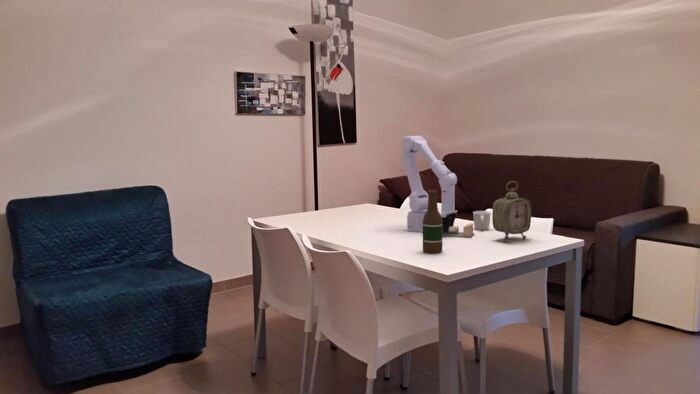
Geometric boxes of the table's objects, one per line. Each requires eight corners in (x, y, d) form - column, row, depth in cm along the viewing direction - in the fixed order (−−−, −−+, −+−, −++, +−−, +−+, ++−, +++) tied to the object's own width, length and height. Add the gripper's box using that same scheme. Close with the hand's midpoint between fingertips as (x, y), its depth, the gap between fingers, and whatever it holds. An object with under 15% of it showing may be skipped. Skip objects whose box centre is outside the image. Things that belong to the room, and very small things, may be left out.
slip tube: (432, 232, 245) (432, 225, 245) (434, 231, 248) (434, 224, 248) (456, 234, 241) (456, 227, 240) (458, 233, 244) (458, 225, 243)
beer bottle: (420, 249, 216) (420, 189, 213) (439, 249, 216) (440, 188, 213) (424, 254, 208) (424, 191, 205) (444, 253, 209) (445, 191, 206)
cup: (491, 232, 247) (491, 214, 246) (473, 231, 249) (473, 214, 248) (490, 227, 258) (490, 211, 257) (472, 227, 259) (472, 210, 258)
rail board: (427, 234, 244) (427, 223, 243) (433, 231, 251) (433, 220, 250) (470, 238, 236) (470, 226, 235) (474, 234, 243) (474, 223, 242)
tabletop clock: (506, 244, 223) (507, 183, 220) (490, 240, 230) (491, 181, 227) (530, 239, 230) (532, 180, 227) (513, 236, 238) (515, 179, 235)
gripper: (452, 203, 234) (452, 234, 236) (461, 198, 247) (460, 228, 249) (436, 202, 237) (436, 233, 239) (445, 198, 250) (445, 227, 252)
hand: (447, 230), depth 244 cm, fingers open, 6 cm apart
